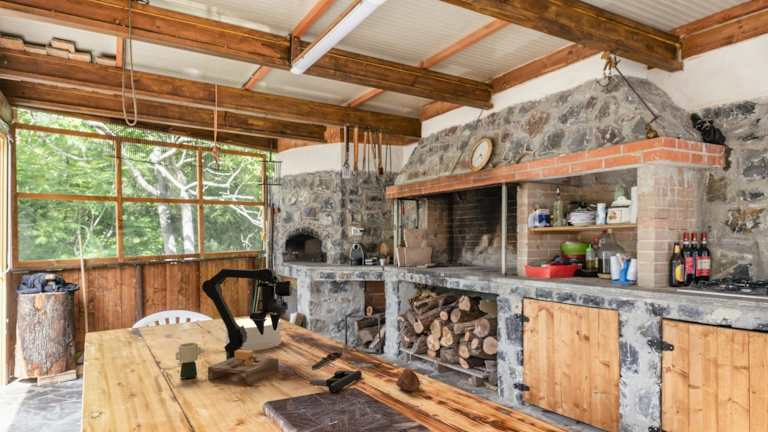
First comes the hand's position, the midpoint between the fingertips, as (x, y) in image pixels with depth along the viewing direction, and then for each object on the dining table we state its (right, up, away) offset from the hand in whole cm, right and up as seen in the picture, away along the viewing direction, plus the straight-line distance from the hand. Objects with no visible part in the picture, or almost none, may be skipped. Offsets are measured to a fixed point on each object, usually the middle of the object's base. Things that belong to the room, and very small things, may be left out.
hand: (268, 332), depth 204 cm
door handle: (+32, -11, -32) cm, 47 cm away
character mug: (-27, -13, -19) cm, 36 cm away
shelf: (-5, -12, -19) cm, 23 cm away
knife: (+26, -13, -2) cm, 29 cm away
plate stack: (-17, -16, +36) cm, 42 cm away
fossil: (+59, -10, -41) cm, 73 cm away
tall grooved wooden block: (-5, -9, -19) cm, 21 cm away
